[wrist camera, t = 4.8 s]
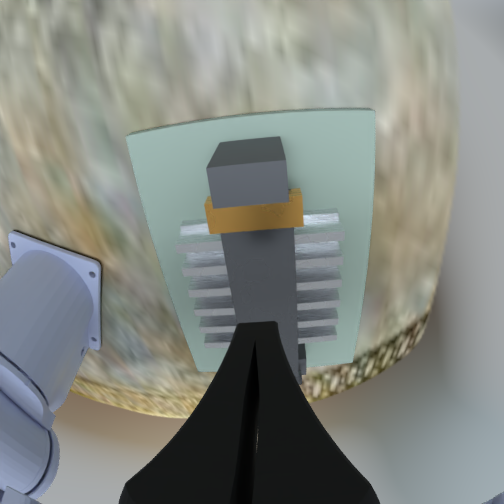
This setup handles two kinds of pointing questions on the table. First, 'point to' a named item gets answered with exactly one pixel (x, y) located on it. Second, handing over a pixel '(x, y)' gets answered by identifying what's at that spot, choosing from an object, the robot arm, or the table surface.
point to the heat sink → (307, 278)
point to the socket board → (309, 167)
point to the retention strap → (263, 264)
